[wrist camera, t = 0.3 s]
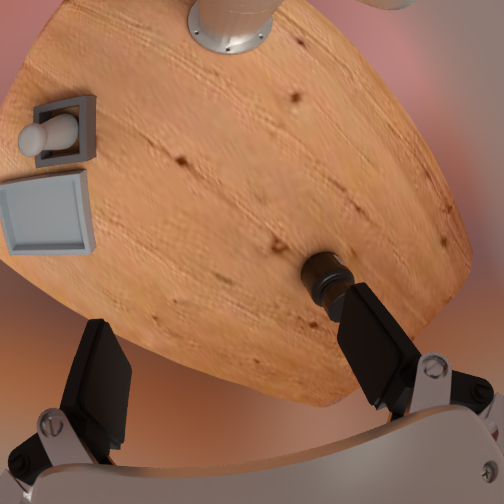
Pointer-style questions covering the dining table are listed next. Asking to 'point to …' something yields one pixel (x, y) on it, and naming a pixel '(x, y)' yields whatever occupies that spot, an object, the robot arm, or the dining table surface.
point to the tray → (47, 214)
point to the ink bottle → (327, 282)
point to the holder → (85, 130)
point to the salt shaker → (48, 135)
